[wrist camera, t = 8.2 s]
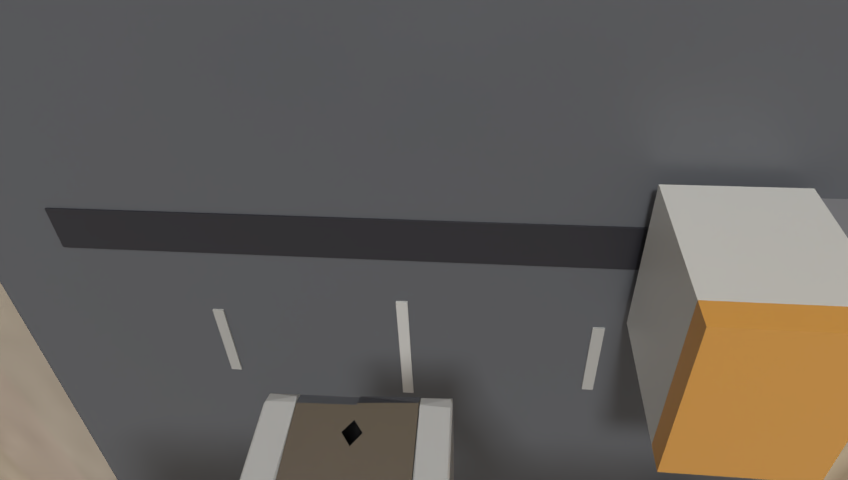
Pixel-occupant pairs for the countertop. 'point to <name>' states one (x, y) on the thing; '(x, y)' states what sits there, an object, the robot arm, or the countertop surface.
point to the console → (382, 205)
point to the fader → (743, 332)
